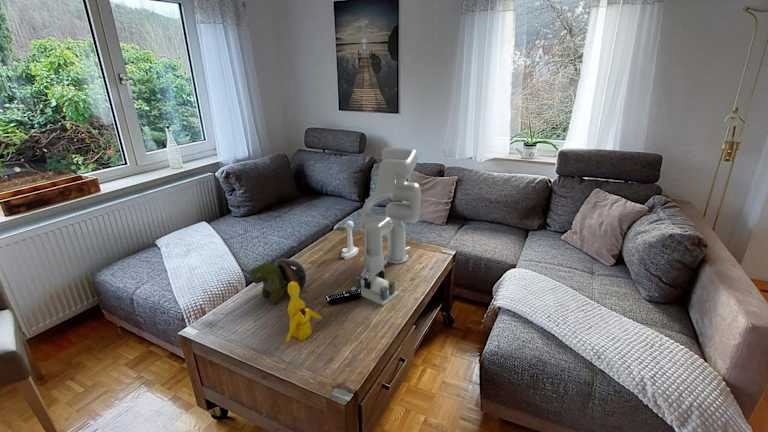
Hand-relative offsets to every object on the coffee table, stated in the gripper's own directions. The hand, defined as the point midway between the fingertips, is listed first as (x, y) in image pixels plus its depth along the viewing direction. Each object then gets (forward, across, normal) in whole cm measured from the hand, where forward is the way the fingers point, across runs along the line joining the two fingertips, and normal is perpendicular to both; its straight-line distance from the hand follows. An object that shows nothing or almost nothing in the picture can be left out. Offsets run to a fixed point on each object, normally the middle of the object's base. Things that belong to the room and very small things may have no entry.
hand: (374, 283), depth 166 cm
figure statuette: (+5, +39, -4) cm, 40 cm away
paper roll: (+3, 0, 0) cm, 3 cm away
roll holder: (+5, 0, 0) cm, 5 cm away
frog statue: (+5, +27, -32) cm, 42 cm away
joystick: (+5, -21, -36) cm, 42 cm away
